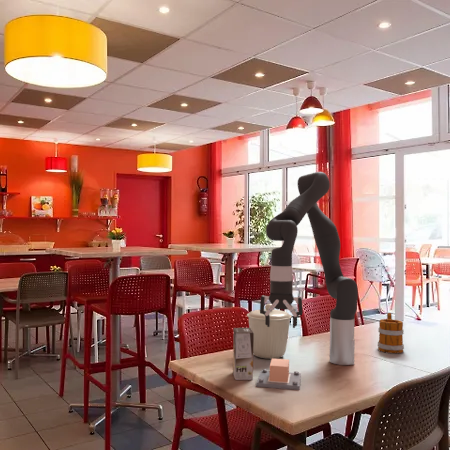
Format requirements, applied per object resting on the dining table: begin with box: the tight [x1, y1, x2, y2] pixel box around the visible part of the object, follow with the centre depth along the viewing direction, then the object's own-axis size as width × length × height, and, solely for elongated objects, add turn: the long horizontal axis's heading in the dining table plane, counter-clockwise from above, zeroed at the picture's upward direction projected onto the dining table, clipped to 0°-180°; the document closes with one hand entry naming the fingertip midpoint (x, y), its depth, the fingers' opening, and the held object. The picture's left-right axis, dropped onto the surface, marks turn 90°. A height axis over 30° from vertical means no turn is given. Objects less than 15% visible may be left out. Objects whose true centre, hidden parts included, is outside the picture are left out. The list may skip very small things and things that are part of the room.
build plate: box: [255, 368, 302, 391], centre depth 165 cm, size 14×14×2 cm
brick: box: [269, 358, 290, 382], centre depth 165 cm, size 6×9×5 cm, turn 170°
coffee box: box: [232, 327, 254, 381], centre depth 170 cm, size 9×6×16 cm
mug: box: [377, 312, 405, 354], centre depth 213 cm, size 11×16×15 cm, turn 166°
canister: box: [246, 303, 293, 360], centre depth 198 cm, size 18×18×21 cm
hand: (281, 327), depth 164 cm, fingers open, 8 cm apart
